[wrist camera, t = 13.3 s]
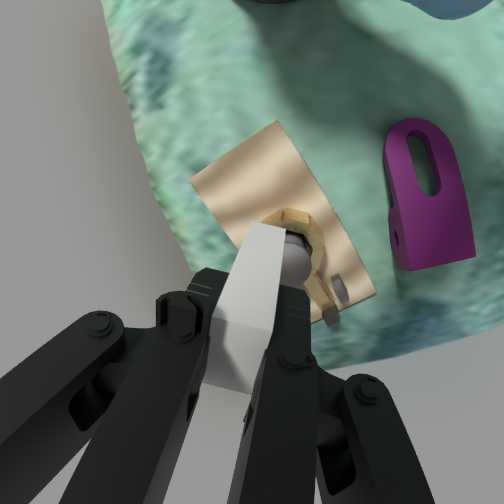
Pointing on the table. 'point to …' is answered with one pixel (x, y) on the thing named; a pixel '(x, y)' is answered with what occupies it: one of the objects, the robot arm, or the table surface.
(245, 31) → the table surface
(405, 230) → the mounting bracket
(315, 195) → the base
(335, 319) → the collar
